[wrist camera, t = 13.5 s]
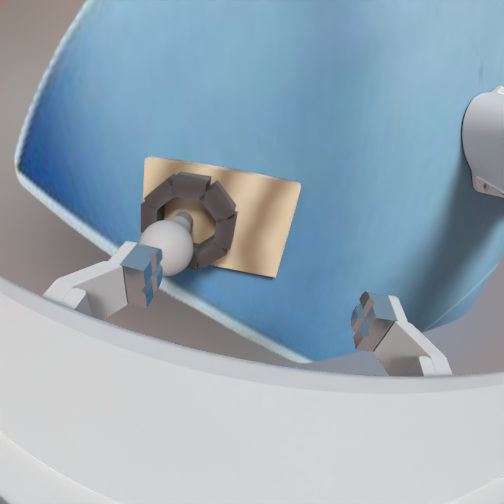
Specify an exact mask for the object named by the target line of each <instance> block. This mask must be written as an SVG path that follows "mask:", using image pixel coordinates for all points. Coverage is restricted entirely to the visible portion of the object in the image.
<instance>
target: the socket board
mask: <svg viewBox="0 0 504 504" xmlns="http://www.w3.org/2000/svg"><path fill="white" fill-rule="evenodd" d="M300 190H301V184H300V183H298V182H294V181H290V180H285V179H281V178H276V177H271V176H266V175H262V174H257V173H252V172H246V171H241V170H236V169H230V168H225V167H219V166H213V165H207V164H201V163H194V162H187V161H180V160H173V159H165V158H157V157H148V158H146V159H145V168H144V190H143V203H142V204H141V232H142V233H143V232H144V231H145V230H146V229H147V227H148V226H150V225H151V224H153V223H155V222H157V221H161V220H170V219H171V218H172V217H174V216H175V215H176V214H177V213H179V212H187V213H189V214H190V215H191V217H192V219H193V224H192V226H191V232H190V235H191V238H192V241H193V256H192V258H191V261H190V263H189V264H188V266H187V267H188V268H192V269H197V267H198V264H199V265H200V266H201V267H202V268H205V267H206V266H208V265H213V266H218V267H223V268H228V269H233V270H238V271H243V272H249V273H254V274H259V275H264V276H270V277H276V274H277V271H278V267H279V264H280V260H281V257H282V254H283V250H284V247H285V243H286V240H287V236H288V233H289V229H290V226H291V222H292V219H293V215H294V211H295V208H296V204H297V201H298V197H299V193H300Z"/></svg>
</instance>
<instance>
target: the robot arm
mask: <svg viewBox="0 0 504 504" xmlns="http://www.w3.org/2000/svg"><path fill="white" fill-rule="evenodd" d="M462 137H463V147H464V152H465V156H466V159H467V161H468V164H469V166H470V168H471V171H472V181H473V187H474V189H475V190H476V191H478V192H481V193H485V194H490V195H494V196H498V197H502V198H504V87H503V86H498V87H496V88H495V89H494V90H493V91H492V92H488V93H482V94H479V95H478V96H476V97H475V98H474V99H473V100H472V101H471V103H470V104H469V106H468V108H467V111H466V113H465V117H464V121H463V131H462ZM162 258H163V255H162V250H161V249H159V248H155V247H151V246H147V245H143V244H140V243H139V244H138V243H135V242H131V241H126V242H125V243H124V244H123V245H122V246H121V247H120V248H119V249H118V251H117V252H116V253H115V254H114V255H113V256H112V257H111V258H110V260H109V261H108V262H106V261H103V262H101V263H98V264H95V265H93V266H90V267H87V268H85V269H82V270H80V271H77V272H74V273H72V274H70V275H67V276H64V277H62V278H59V279H57V280H56V281H55V282H54V283H53V284H52V285H51V287H50V288H49V289H48V290H47V291H46V292H45V293H44V294H43V295H42V296H40V295H38V294H36V293H33V292H31V291H29V290H27V289H25V288H23V287H21V286H19V285H17V284H15V283H13V282H11V281H9V280H7V279H5V278H3V277H1V276H0V504H504V372H495V373H485V374H473V375H458V376H453V375H452V372H451V369H450V367H449V364H448V362H447V359H446V356H445V355H443V354H442V353H441V352H440V351H439V350H438V349H437V348H436V347H435V346H434V345H433V344H432V343H431V342H430V341H429V340H428V339H427V338H426V337H425V336H424V335H423V334H422V333H421V332H420V331H419V330H418V329H417V328H416V327H414V326H413V325H412V324H411V323H408V321H407V319H406V316H405V314H404V311H403V309H402V306H401V304H400V302H399V299H398V298H397V297H396V296H390V295H382V294H376V293H371V292H364V293H363V294H362V296H361V297H360V302H361V304H359V305H358V306H356V307H355V309H354V311H353V313H352V317H351V328H352V330H353V331H354V332H355V335H354V337H353V338H354V343H355V348H356V349H357V350H364V351H372V352H374V354H375V356H376V357H377V358H378V360H379V361H380V363H381V364H382V365H383V367H384V368H385V370H386V371H387V373H388V374H389V375H390V376H376V375H359V374H346V373H335V372H325V371H316V370H309V369H301V368H294V367H287V366H280V365H274V364H268V363H262V362H257V361H251V360H246V359H240V358H235V357H231V356H226V355H221V354H217V353H212V352H208V351H204V350H199V349H195V348H191V347H187V346H183V345H180V344H176V343H172V342H169V341H165V340H161V339H158V338H154V337H151V336H148V335H144V334H141V333H138V332H135V331H132V330H128V329H125V328H122V327H119V326H116V325H113V324H110V323H108V322H105V321H102V320H103V319H105V318H107V317H108V316H110V315H111V314H113V313H114V312H116V311H118V310H119V309H121V308H122V307H124V306H126V305H127V304H128V303H129V304H132V305H136V306H140V307H144V308H147V307H148V306H149V304H150V302H151V300H152V298H153V292H154V291H156V290H158V288H159V286H160V283H161V280H162V274H163V267H162V266H161V264H160V262H161V260H162Z"/></svg>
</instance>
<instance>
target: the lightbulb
mask: <svg viewBox="0 0 504 504" xmlns="http://www.w3.org/2000/svg"><path fill="white" fill-rule="evenodd" d="M192 224H193V219H192V217H191V215H190V214H189V213H187V212H179V213H177V214H176V215H175V216H174V217H172V218H171V219H170V220H161V221H157V222H155V223H153V224H151V225H150V226H148V227H147V229H146V230H145V231H144V232H143V234H142V236H141V238H140V242H139V243H140V244H143V245H147V246H151V247H155V248H159V249H161V250H162V255H163V258H162V260H161V262H160V264H161V266H162V267H163V274H162V276H172V275H175V274H178V273H179V272H181V271H182V270H184V269H185V268H186V267H187V266H188V264H189V263H190V261H191V258H192V256H193V241H192V238H191V235H190V232H191V226H192Z"/></svg>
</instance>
